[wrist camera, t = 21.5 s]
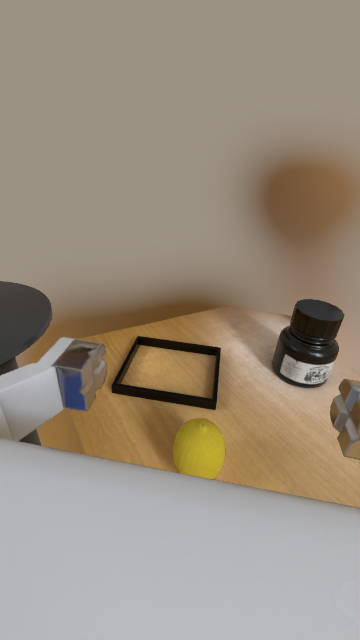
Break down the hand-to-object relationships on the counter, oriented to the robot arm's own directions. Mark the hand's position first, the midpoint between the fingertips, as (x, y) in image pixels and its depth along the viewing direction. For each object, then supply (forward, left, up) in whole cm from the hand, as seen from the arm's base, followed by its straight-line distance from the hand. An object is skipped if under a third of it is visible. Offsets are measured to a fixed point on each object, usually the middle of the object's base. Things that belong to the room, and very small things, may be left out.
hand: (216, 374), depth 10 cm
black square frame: (-6, +28, -25) cm, 38 cm away
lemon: (0, +12, -25) cm, 28 cm away
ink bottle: (+15, +33, -25) cm, 44 cm away
